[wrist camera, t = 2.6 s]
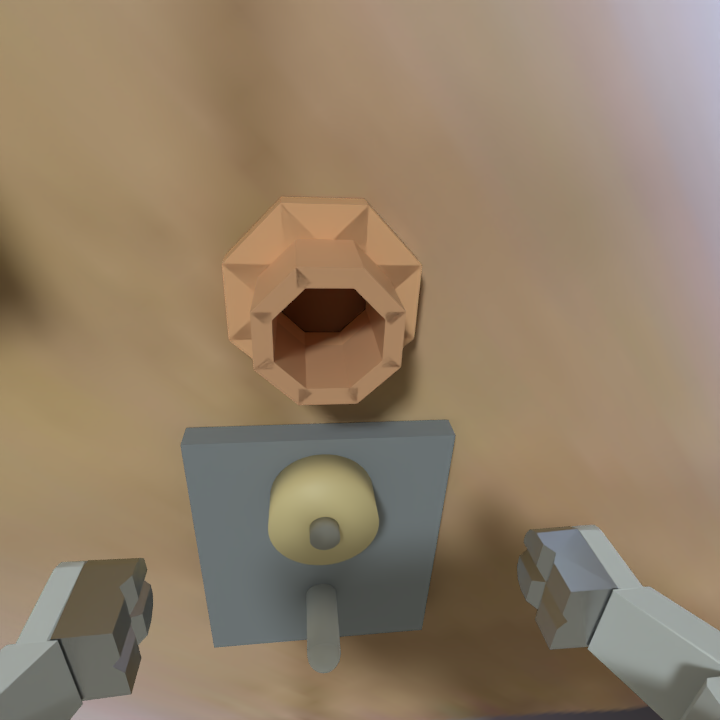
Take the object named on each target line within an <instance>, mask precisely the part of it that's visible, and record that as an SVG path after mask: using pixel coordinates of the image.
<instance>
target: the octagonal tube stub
mask: <svg viewBox="0 0 720 720" xmlns="http://www.w3.org/2000/svg"><path fill="white" fill-rule="evenodd" d="M222 272H223V282H224V293H225V303H226V314H227V325H228V335H229V340H230V341H231V342H232V343H233V344H235V345H236V346H237V347H238V348H240V349H241V350H242V351H243V352H245V353H246V354H247V355H248V356H250V357H251V358H252V359H253V366H254V370H255V371H256V372H257V373H259V374H260V375H261V376H262V377H264V378H265V379H266V380H267V381H269V382H270V383H271V384H272V385H274V386H275V387H276V388H278V389H279V390H280V391H281V392H283V393H284V394H285V395H286V396H288V397H289V398H290V399H291V400H293V401H294V402H295V403H297V404H298V405H325V404H357V403H358V402H360V401H361V400H362V399H363V398H364V397H366V396H367V395H368V394H369V393H370V392H372V391H373V390H374V389H375V388H376V387H378V386H379V385H380V384H381V383H382V382H384V381H385V380H386V379H387V378H388V377H390V376H391V375H392V374H393V373H394V372H396V371H397V370H398V369H399V368H401V361H402V350H403V347H404V346H406V345H407V344H408V343H409V342H410V341H412V340H413V339H414V336H415V326H416V317H417V308H418V299H419V290H420V281H421V272H422V265H421V263H420V262H419V261H418V259H417V258H416V256H415V255H414V254H413V253H412V252H411V251H410V250H409V249H408V247H407V246H406V245H405V244H404V243H403V242H402V241H401V239H400V238H399V237H398V236H397V235H396V234H395V233H394V232H393V230H392V229H391V228H390V227H389V226H388V225H387V224H386V223H385V221H384V220H383V219H382V218H381V217H380V216H379V215H378V213H377V212H376V211H375V210H374V209H373V208H372V207H371V206H370V204H369V203H368V202H367V201H366V200H365V199H357V198H318V197H281V198H280V199H279V200H278V201H277V202H276V203H275V204H274V205H273V206H272V207H271V208H270V209H269V210H268V211H267V212H266V213H265V214H264V215H263V216H262V217H261V218H260V219H259V220H258V221H257V223H256V224H255V225H254V226H253V227H252V228H251V229H250V230H249V231H248V232H247V233H246V234H245V235H244V236H243V237H242V238H241V239H240V240H239V241H238V242H237V243H236V244H235V245H234V246H233V247H232V248H231V249H230V250H229V251H228V253H227V254H226V255H225V258H224V260H223V262H222ZM305 288H354V289H355V290H356V291H357V292H358V293H359V294H360V295H361V296H362V297H363V298H364V299H365V300H366V309H365V310H364V311H363V312H362V313H361V314H360V315H358V316H357V317H356V318H355V319H354V320H353V321H352V322H351V323H349V324H348V325H347V326H346V327H345V328H344V329H343V330H342V331H340V332H304V331H302V330H301V329H300V328H299V327H298V326H297V325H296V324H295V323H293V322H292V321H291V320H290V319H289V318H288V317H287V316H285V315H284V314H283V313H282V312H281V311H282V310H283V309H284V308H285V307H286V306H287V305H288V304H290V303H291V302H292V301H293V300H294V299H295V298H296V297H297V296H298V295H299V294H300V293H301V292H302V291H303V290H304V289H305Z"/></svg>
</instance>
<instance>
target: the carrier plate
mask: <svg viewBox="0 0 720 720" xmlns="http://www.w3.org/2000/svg"><path fill="white" fill-rule="evenodd" d="M454 440H455V433H454V431H453V429H452V427H451V425H450V423H449V421H448V420H423V421H391V422H359V423H327V424H295V425H264V426H232V427H200V428H186V430H185V433H184V436H183V439H182V442H181V451H182V457H183V463H184V469H185V475H186V481H187V487H188V493H189V499H190V505H191V511H192V517H193V523H194V529H195V535H196V541H197V547H198V553H199V559H200V565H201V571H202V577H203V583H204V589H205V595H206V601H207V607H208V613H209V619H210V625H211V631H212V637H213V643H214V647H225V646H237V645H249V644H260V643H272V642H284V641H295V640H307V656H308V661H309V664H310V666H311V667H312V668H313V669H314V670H315V671H317V672H319V673H328V672H330V671H332V670H333V669H334V668H335V667H336V666H337V664H338V663H339V660H340V655H341V650H340V637H342V636H354V635H365V634H377V633H389V632H400V631H412V630H422V625H423V619H424V614H425V608H426V602H427V596H428V590H429V585H430V579H431V573H432V567H433V562H434V556H435V550H436V544H437V538H438V533H439V527H440V521H441V515H442V510H443V504H444V498H445V492H446V486H447V481H448V475H449V469H450V463H451V458H452V452H453V446H454Z"/></svg>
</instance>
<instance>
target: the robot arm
mask: <svg viewBox="0 0 720 720" xmlns="http://www.w3.org/2000/svg"><path fill="white" fill-rule="evenodd" d="M524 544H525V546H526V547H527V550H526V551H524V552H523V553H522V554H521V555H520V556H519V560H518V565H517V573H518V581H519V584H520V588H521V591H522V593H523V595H524V597H525V599H526V601H527V602H529V603H530V604H531V605H533V606H534V607H535V608H536V609H537V613H536V618H535V620H536V622H537V625H538V627H539V629H540V631H541V633H542V635H543V637H544V639H545V641H546V643H547V645H548V647H549V649H550V650H551V649H564V648H577V647H588V650H589V651H590V652H591V653H593V654H594V655H595V656H596V657H597V658H598V659H599V660H600V661H601V662H602V663H603V664H604V665H605V666H607V667H608V668H609V669H610V670H611V671H612V672H613V673H614V674H615V675H616V676H617V677H618V678H619V679H620V680H622V681H623V682H624V683H625V684H626V685H627V686H628V687H629V688H630V689H631V690H632V691H633V692H634V693H636V694H637V695H638V696H639V697H640V698H641V699H642V700H643V701H644V702H645V703H646V704H647V705H648V706H649V707H651V708H652V709H653V710H654V711H655V712H656V713H657V714H658V715H659V716H660V717H661V718H662V719H663V720H720V631H719V630H717V629H715V628H714V627H712V626H711V625H709V624H708V623H706V622H704V621H703V620H701V619H700V618H698V617H697V616H695V615H693V614H692V613H690V612H689V611H687V610H686V609H684V608H682V607H681V606H679V605H678V604H676V603H675V602H673V601H671V600H670V599H668V598H667V597H665V596H664V595H662V594H660V593H659V592H657V591H656V590H654V589H653V588H651V587H643V586H642V585H641V583H640V582H639V581H638V579H637V578H636V577H635V575H634V574H633V573H632V571H631V570H630V569H629V567H628V566H627V565H626V563H625V562H624V561H623V559H622V558H621V556H620V555H619V554H618V552H617V551H616V550H615V548H614V547H613V546H612V544H611V543H610V542H609V540H608V539H607V538H606V536H605V535H604V534H603V532H602V531H601V530H600V528H598V527H597V526H595V525H584V526H572V527H570V526H566V527H555V528H543V529H531V530H529V531H528V532H527V533H526V535H525V539H524ZM146 572H147V567H146V564H145V560H144V558H130V559H108V560H88V561H72V562H61V563H60V564H59V565H58V566H57V567H56V568H55V569H54V570H53V572H52V574H51V576H50V578H49V580H48V582H47V583H46V585H45V587H44V589H43V591H42V593H41V595H40V597H39V599H38V601H37V603H36V605H35V607H34V609H33V611H32V613H31V615H30V617H29V618H28V620H27V622H26V624H25V626H24V628H23V630H22V632H21V634H20V636H19V638H18V640H17V642H16V644H9V645H6V646H5V647H3V648H2V649H1V650H0V720H70V719H71V718H72V716H73V715H74V714H75V713H76V712H77V710H78V709H79V708H80V707H81V705H82V701H85V700H92V699H100V698H107V697H115V696H122V695H129V694H132V690H133V686H134V683H135V679H136V676H137V672H138V668H139V665H140V661H141V655H140V651H139V647H138V645H139V643H140V642H141V641H142V640H143V639H144V638H145V637H146V636H147V635H148V631H149V627H150V623H151V618H152V609H153V593H152V589H151V585H150V584H149V583H147V582H146V581H145V580H144V579H145V575H146Z"/></svg>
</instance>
